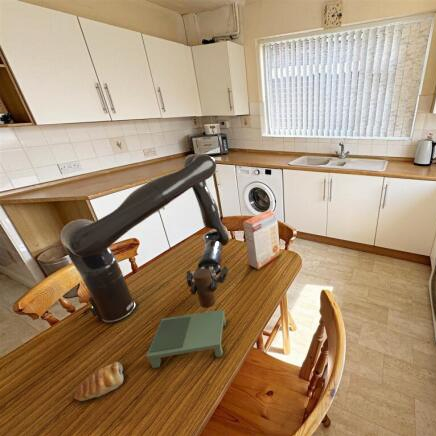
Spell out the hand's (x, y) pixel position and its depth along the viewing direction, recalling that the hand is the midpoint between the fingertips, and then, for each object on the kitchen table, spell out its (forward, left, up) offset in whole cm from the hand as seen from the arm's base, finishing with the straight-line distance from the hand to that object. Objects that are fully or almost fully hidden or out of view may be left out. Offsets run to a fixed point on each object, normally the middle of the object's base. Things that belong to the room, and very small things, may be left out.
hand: (203, 291), depth 74 cm
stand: (-3, -10, -10) cm, 14 cm away
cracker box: (+20, +27, -10) cm, 35 cm away
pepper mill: (0, +3, -7) cm, 7 cm away
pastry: (-22, -18, -10) cm, 30 cm away
